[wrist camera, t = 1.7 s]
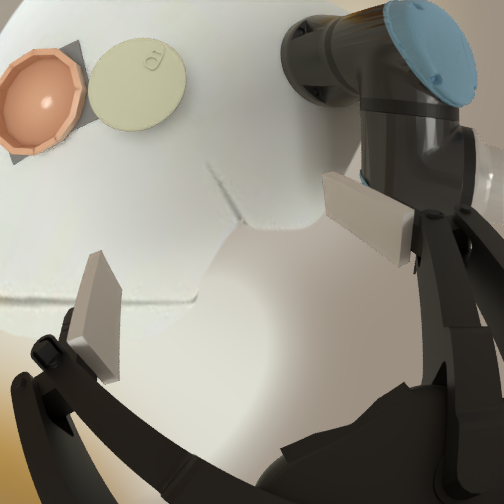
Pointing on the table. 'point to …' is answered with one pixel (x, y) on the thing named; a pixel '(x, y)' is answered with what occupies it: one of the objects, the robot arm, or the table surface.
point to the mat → (87, 113)
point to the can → (137, 84)
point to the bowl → (40, 101)
